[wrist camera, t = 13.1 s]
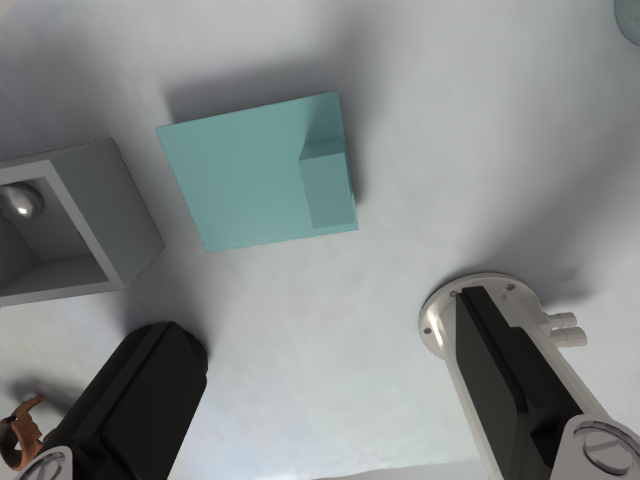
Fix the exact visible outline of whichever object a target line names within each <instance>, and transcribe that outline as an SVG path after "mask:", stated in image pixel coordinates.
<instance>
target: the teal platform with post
mask: <svg viewBox="0 0 640 480" xmlns="http://www.w3.org/2000/svg"><path fill="white" fill-rule="evenodd" d="M155 130H156V133H157V135H158V138H159V140H160V142H161V145H162V147H163V150H164V152H165V154H166V157H167V159H168V162H169V164H170V166H171V169H172V171H173V173H174V176H175V178H176V181H177V183H178V185H179V188H180V190H181V193H182V195H183V197H184V200H185V202H186V205H187V207H188V209H189V212H190V214H191V217H192V219H193V221H194V224H195V226H196V228H197V231H198V233H199V236H200V238H201V240H202V243H203V245H204V248H205V250H206V252H214V251H221V250H227V249H234V248H241V247H247V246H254V245H261V244H267V243H274V242H281V241H287V240H294V239H301V238H307V237H314V236H321V235H327V234H334V233H341V232H347V231H354V230H359V229H358V222H357V215H356V208H355V202H354V195H353V188H352V181H351V175H350V168H349V161H348V154H347V147H346V141H345V134H344V127H343V120H342V113H341V107H340V100H339V93H338V90H336V91H331V92H326V93H321V94H316V95H311V96H307V97H302V98H297V99H292V100H287V101H282V102H277V103H272V104H268V105H263V106H258V107H253V108H248V109H243V110H238V111H233V112H229V113H224V114H219V115H214V116H209V117H204V118H199V119H194V120H190V121H185V122H180V123H175V124H170V125H165V126H161V127H158V128H155Z"/></svg>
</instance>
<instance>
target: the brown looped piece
mask: <svg viewBox="0 0 640 480" xmlns="http://www.w3.org/2000/svg"><path fill="white" fill-rule="evenodd" d="M42 400H43V396H41V395H38V396H36V397H34V398H31V399H30V400H29V401H27V402H23V403H22V404H21V405H20V406H19V407H18V408H16V409H15V411H14V412H13V413H12V414H11V416H10V417H7V418H4V419H2V420H1V421H0V454H1V456H2V458H3V460H4V461H5V463H6V464H7V465H8V466H9V467H10V468H11V469H13V470H16V471H21V470H22V469H23V468H24V467H25V466H26V465H27V464H29V463H30V462H31V460H32V459H33V458H34V457H35V455H36V454H37V453H38V451H39V450H40V449H41V447H42V446H43V445H44V443H45V442H46V441H47V439H48V438H49V437H50V435H51V434H52V433H53V432H54V430H55V429H56V428H55V429H53V430H52V431H51V432H50V433H48V434H47V435H46V436H45V437H44V439H43V443H42V442H41V441H40V440H39V439H38V438H40V437H41V436H42V433H41V432H40V431H39V429H38V426H37V425H36V424H35V423H34V422H33V421H32V417H31V416H30V414H29V413H28V411H29V410H30V409H31V408H32V407H33V406H35V405H36V404H38V403H39V402H41V401H42ZM16 418H17V419H18V420H16ZM18 441H19V442H20V445H21V449H22V451H21V450H15V449H14V448H15V446H16V444H17V442H18Z"/></svg>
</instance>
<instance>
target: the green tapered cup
mask: <svg viewBox="0 0 640 480" xmlns="http://www.w3.org/2000/svg"><path fill="white" fill-rule="evenodd" d="M614 2H615V16H616V20H617V24H618V26H619V28H620V30H621V32H622V33H623V35H624V36H625V37H626V38H627V39H628V40H630V41H631V42H632V43H634V44H636V45H639V46H640V0H615V1H614Z"/></svg>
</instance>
